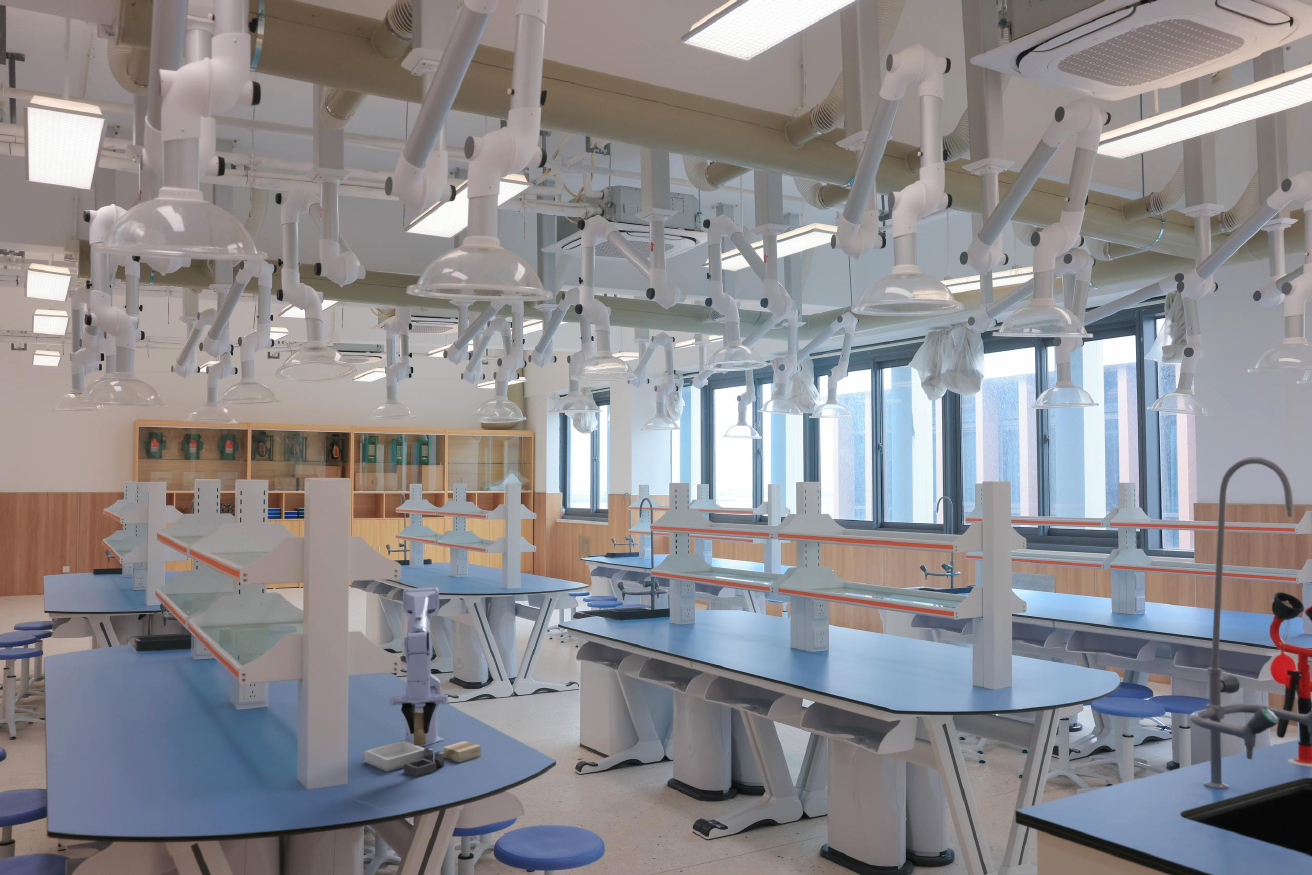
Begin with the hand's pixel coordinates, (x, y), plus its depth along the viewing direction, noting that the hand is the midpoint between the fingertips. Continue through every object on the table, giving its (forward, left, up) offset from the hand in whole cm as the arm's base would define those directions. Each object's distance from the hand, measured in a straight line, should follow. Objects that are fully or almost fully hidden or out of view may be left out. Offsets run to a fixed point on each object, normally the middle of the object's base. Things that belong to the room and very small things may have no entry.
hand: (419, 732), depth 244 cm
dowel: (0, 0, -3) cm, 3 cm away
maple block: (-2, +14, -10) cm, 17 cm away
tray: (-12, 0, -10) cm, 16 cm away
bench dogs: (-2, +5, -10) cm, 11 cm away
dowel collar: (0, 0, -10) cm, 10 cm away
